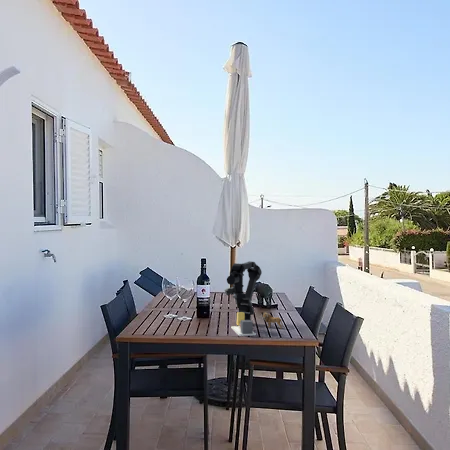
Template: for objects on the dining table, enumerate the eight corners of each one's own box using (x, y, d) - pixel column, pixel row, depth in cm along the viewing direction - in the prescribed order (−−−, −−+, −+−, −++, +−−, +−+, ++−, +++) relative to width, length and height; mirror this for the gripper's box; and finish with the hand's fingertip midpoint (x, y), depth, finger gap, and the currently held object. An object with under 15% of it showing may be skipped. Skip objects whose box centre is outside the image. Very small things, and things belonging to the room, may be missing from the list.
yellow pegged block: (236, 324, 294) (236, 312, 294) (243, 324, 295) (243, 312, 295) (237, 325, 290) (238, 313, 290) (244, 325, 291) (244, 313, 291)
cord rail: (231, 328, 296) (231, 315, 296) (246, 327, 298) (246, 314, 298) (239, 335, 274) (239, 322, 274) (255, 335, 276) (256, 321, 276)
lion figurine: (261, 327, 299) (261, 313, 299) (263, 325, 304) (263, 311, 304) (284, 329, 294) (284, 314, 294) (286, 327, 299) (286, 313, 299)
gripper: (223, 281, 308) (222, 305, 308) (228, 285, 290) (228, 310, 289) (239, 281, 310) (239, 305, 310) (246, 284, 292) (246, 310, 292)
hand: (238, 307), depth 300 cm, fingers closed
